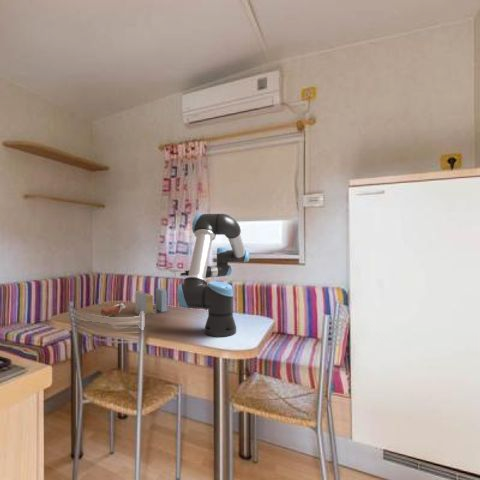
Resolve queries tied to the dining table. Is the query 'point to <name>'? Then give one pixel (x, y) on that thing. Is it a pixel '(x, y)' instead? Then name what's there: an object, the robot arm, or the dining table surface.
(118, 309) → the bull figurine
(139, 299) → the vise
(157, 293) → the free jaw
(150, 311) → the block
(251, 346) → the dining table surface
